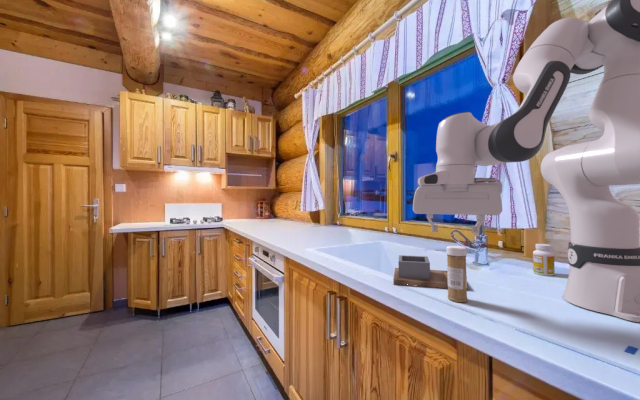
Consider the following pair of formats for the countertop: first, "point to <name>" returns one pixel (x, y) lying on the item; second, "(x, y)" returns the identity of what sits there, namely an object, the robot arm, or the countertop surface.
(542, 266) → the supplement bottle
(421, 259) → the grey square open box
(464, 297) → the sprinkles bottle
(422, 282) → the wooden board
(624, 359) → the countertop surface
